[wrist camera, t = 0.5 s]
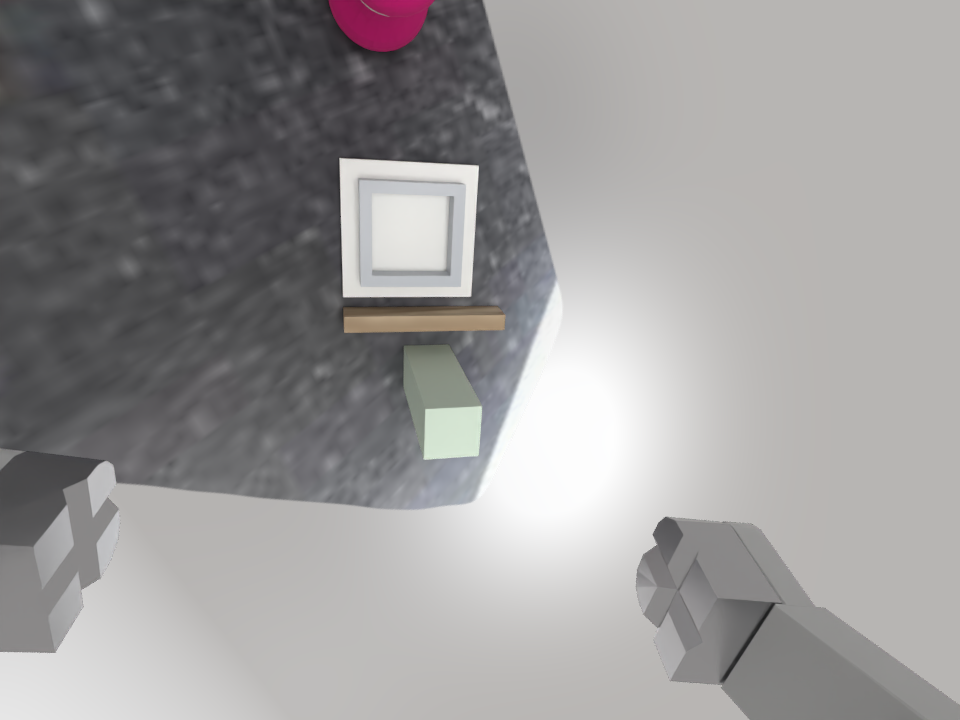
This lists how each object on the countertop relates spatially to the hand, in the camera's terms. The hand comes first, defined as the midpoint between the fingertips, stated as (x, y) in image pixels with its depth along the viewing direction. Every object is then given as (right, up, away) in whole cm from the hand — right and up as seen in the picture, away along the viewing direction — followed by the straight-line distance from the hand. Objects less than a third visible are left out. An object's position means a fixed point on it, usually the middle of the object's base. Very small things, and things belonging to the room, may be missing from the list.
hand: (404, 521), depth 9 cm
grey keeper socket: (-5, +14, +44) cm, 46 cm away
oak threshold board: (-4, +7, +47) cm, 48 cm away
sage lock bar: (-4, +2, +49) cm, 49 cm away
